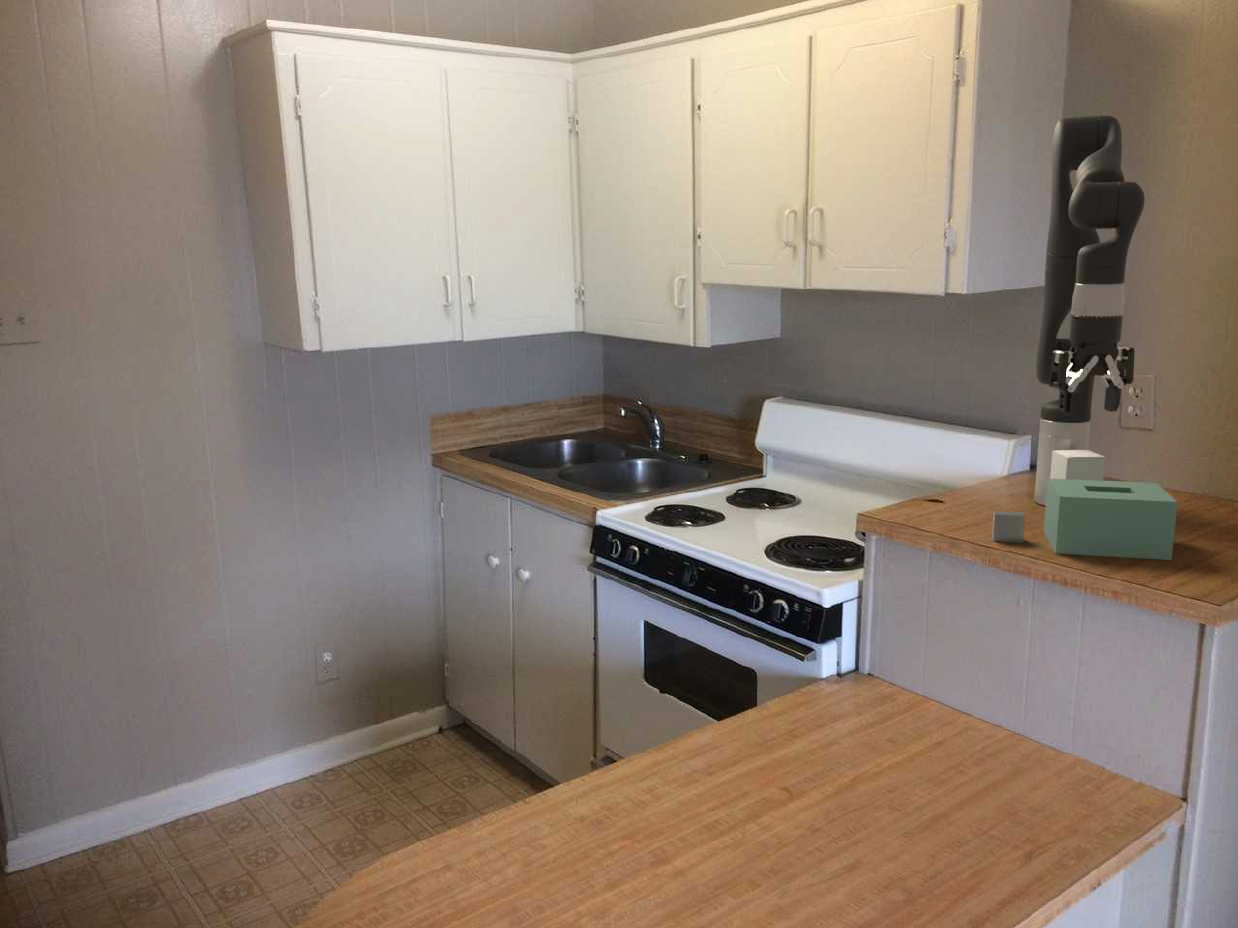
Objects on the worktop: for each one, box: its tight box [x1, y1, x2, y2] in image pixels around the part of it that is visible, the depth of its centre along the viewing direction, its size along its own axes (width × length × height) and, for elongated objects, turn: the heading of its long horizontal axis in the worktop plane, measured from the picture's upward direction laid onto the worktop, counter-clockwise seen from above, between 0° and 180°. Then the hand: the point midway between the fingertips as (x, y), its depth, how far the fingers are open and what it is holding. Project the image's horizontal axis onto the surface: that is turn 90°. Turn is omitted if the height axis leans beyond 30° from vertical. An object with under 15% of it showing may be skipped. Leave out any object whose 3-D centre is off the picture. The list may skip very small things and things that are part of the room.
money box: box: [1043, 479, 1178, 561], centre depth 179 cm, size 14×18×10 cm
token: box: [991, 510, 1026, 544], centre depth 183 cm, size 2×5×5 cm, turn 76°
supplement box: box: [1050, 449, 1106, 481], centre depth 197 cm, size 7×7×13 cm
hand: (1088, 412), depth 167 cm, fingers open, 8 cm apart
